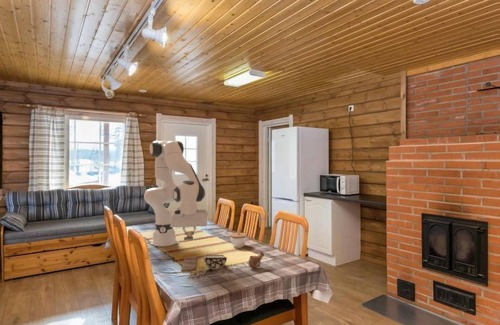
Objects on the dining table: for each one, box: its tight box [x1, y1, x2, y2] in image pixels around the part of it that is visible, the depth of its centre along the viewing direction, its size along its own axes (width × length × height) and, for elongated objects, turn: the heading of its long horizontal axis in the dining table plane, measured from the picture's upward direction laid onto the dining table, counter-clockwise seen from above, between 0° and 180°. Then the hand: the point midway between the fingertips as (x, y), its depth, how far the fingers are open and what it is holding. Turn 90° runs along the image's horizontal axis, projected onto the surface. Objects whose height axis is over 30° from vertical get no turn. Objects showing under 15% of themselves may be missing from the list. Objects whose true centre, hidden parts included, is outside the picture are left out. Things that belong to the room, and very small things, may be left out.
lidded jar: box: [230, 231, 248, 249], centre depth 205 cm, size 11×11×9 cm
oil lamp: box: [248, 251, 265, 269], centre depth 165 cm, size 9×4×8 cm, turn 112°
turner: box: [183, 230, 194, 241], centre depth 171 cm, size 16×4×3 cm, turn 7°
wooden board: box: [180, 256, 198, 272], centre depth 171 cm, size 20×7×1 cm, turn 7°
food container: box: [203, 254, 228, 270], centre depth 166 cm, size 12×6×10 cm
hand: (189, 234), depth 173 cm, fingers closed on turner, 2 cm apart
